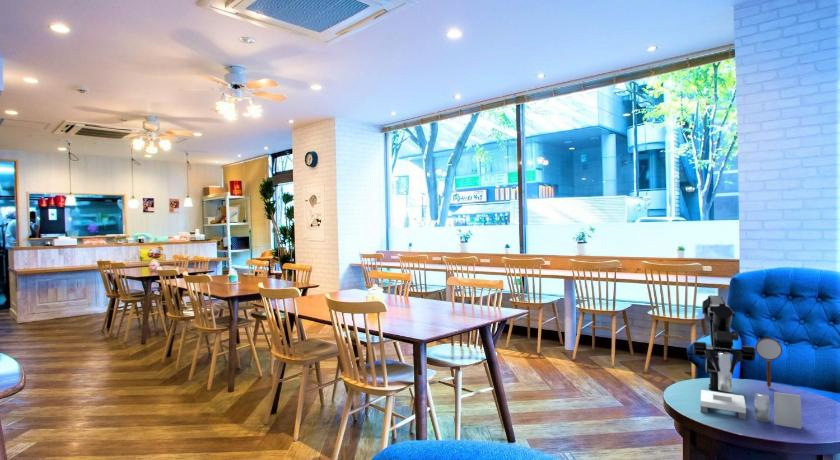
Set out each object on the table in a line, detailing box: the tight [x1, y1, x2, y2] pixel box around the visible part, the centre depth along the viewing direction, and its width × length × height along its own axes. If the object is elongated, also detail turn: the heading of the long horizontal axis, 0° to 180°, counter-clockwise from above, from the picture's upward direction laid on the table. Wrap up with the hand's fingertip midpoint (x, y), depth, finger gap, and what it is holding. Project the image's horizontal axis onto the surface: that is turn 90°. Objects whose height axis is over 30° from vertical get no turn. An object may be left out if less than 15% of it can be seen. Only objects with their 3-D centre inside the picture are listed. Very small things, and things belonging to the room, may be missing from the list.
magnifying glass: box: [754, 337, 783, 389], centre depth 187 cm, size 9×2×20 cm, turn 64°
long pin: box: [717, 352, 733, 393], centre depth 166 cm, size 4×4×13 cm
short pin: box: [753, 392, 770, 423], centre depth 157 cm, size 4×4×8 cm
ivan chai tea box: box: [773, 391, 803, 430], centre depth 153 cm, size 4×7×10 cm, turn 57°
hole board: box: [700, 389, 747, 420], centre depth 167 cm, size 13×13×4 cm
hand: (725, 372), depth 165 cm, fingers closed on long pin, 4 cm apart
